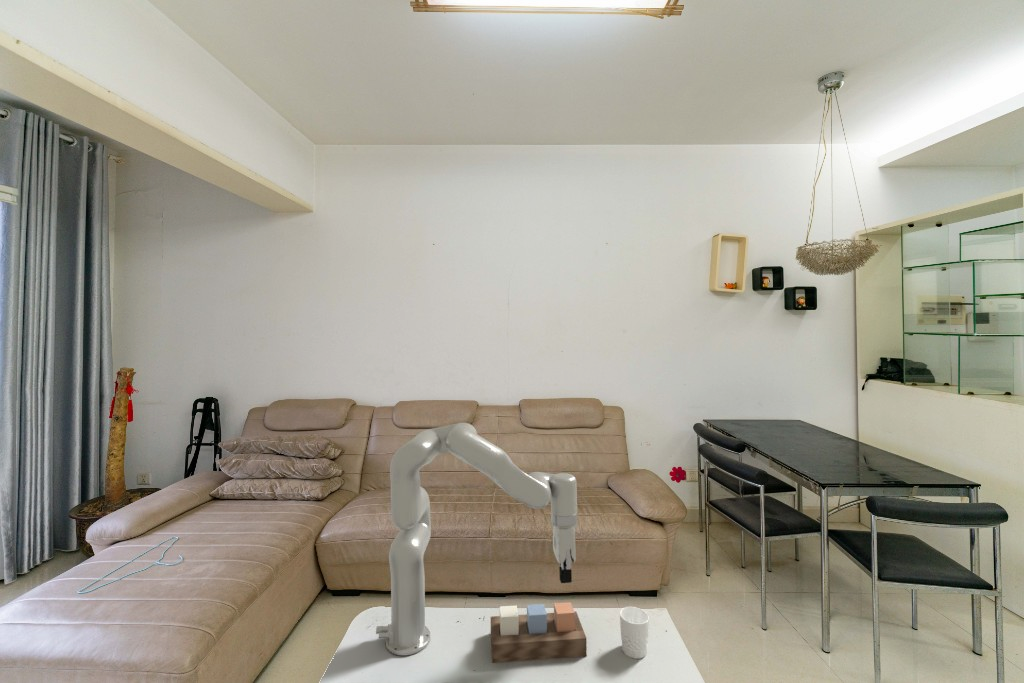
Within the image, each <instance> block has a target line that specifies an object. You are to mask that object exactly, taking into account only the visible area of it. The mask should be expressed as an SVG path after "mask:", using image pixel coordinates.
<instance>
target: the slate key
mask: <svg viewBox="0 0 1024 683" xmlns="http://www.w3.org/2000/svg"><path fill="white" fill-rule="evenodd" d="M546 613H547V609H546V607H545V604H544V603H535V604H534V603H533V604H527V605H526V614H527V628H528V633H529V634H538V633H547V614H546Z"/></svg>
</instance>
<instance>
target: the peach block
mask: <svg viewBox="0 0 1024 683" xmlns="http://www.w3.org/2000/svg"><path fill="white" fill-rule="evenodd" d="M574 612H575V610H574V607H573V605H572V603H571V602H570V601H569V602H553V613H554V625H555V629H556V632H569V631H575V613H574Z"/></svg>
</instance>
